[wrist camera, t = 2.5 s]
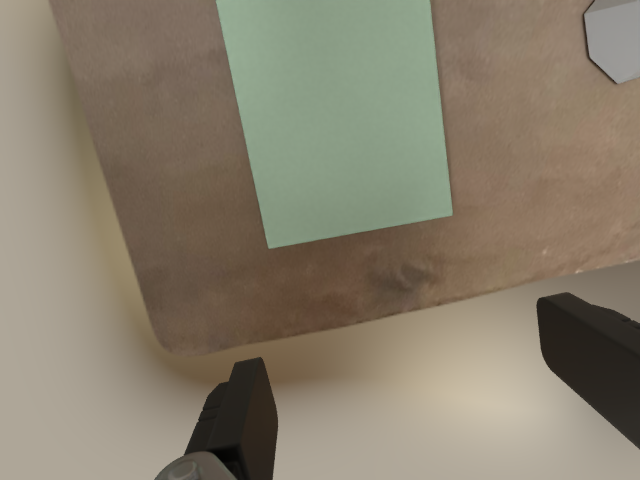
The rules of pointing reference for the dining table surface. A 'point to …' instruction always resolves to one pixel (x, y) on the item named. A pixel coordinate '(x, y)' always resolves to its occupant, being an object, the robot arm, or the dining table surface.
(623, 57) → the flask
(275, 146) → the mat
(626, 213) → the dining table surface
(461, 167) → the dining table surface
